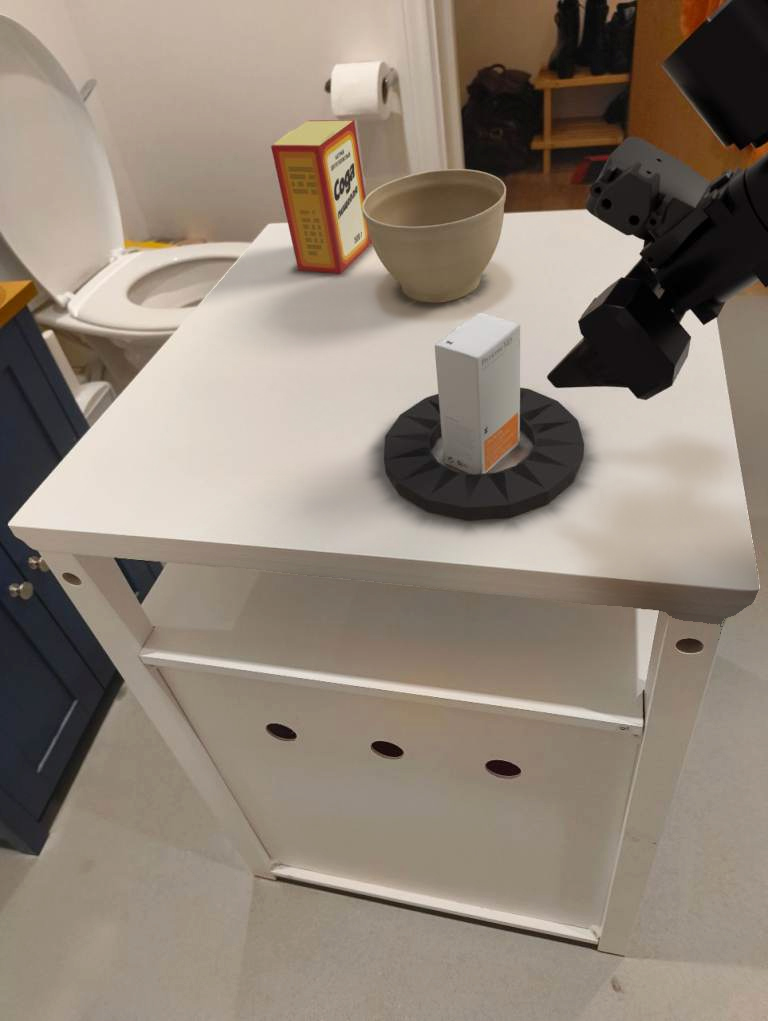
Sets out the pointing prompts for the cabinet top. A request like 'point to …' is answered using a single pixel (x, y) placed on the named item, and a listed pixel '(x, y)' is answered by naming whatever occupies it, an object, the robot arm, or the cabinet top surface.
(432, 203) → the planter bowl
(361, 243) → the baking soda box
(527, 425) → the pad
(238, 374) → the cabinet top surface
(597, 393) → the cabinet top surface
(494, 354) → the cosmetic box
